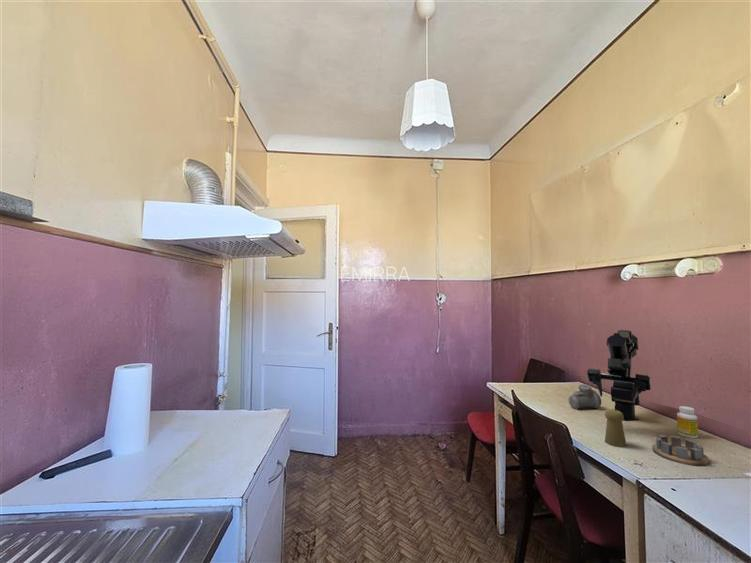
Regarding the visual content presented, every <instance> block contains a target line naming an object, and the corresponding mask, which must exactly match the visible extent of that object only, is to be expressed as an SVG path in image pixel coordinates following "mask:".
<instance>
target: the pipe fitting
mask: <svg viewBox="0 0 751 563" xmlns="http://www.w3.org/2000/svg"><path fill="white" fill-rule="evenodd" d="M567 399H568V404H569V405H570V407H571V408H573V410H579V409H582V408H583V409H584V408H588V407H589V408H591V409H598V408H601V405H602V399H601V396H600V393H598V392H597V391H596V390H595V389H592V386H591V385H589V384H579V385H578V390H577V391H574V392H573V394H571V395H569V396H568V398H567Z"/></svg>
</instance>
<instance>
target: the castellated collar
mask: <svg viewBox="0 0 751 563" xmlns="http://www.w3.org/2000/svg"><path fill="white" fill-rule="evenodd" d="M684 442H685V443H684V444H685V447H686V448H683V447H681V446H682V438H681V437H680V436H675V435H670V443H669V437H668V436H667V435H665V434H661V435H660V434H659V435H657V436H655V444H656V447H657V449H659V450H661V452H663V453H665V454H667V455H672V446H673V447H676V456H677V458H681V459H686V460H688V450H689V451H691V459H693V460H695V461H697V460H702V458H704V455H705V454H704V447H703V445H701V444H698V442H696V441H693V440H691V439H684Z"/></svg>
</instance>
